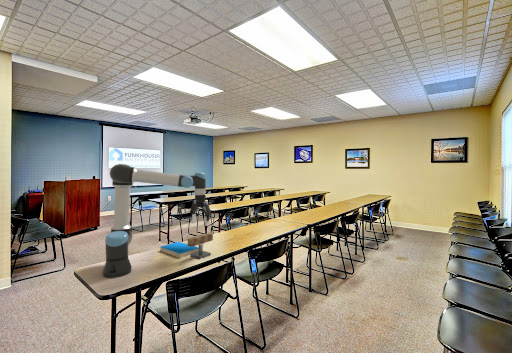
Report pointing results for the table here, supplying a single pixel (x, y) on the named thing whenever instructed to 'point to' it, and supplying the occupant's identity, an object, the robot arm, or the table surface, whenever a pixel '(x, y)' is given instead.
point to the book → (179, 249)
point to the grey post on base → (200, 253)
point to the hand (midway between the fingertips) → (200, 224)
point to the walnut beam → (200, 239)
